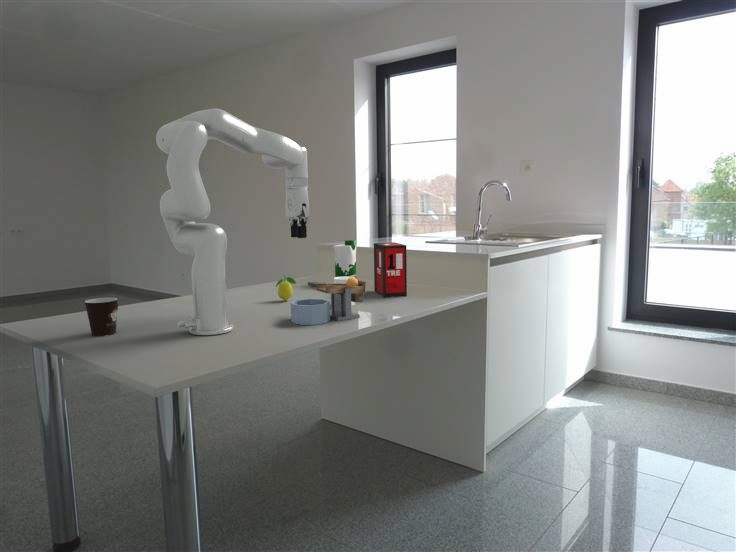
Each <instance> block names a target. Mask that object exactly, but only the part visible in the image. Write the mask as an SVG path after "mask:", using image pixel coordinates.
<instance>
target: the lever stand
mask: <svg viewBox="0 0 736 552" xmlns="http://www.w3.org/2000/svg"><path fill="white" fill-rule="evenodd" d="M330 305H331V306H330V320H334V321H338V322H339V321H340V322H341V321H345V320H346V321H347V320H353V319H354V320H355V319H359V318H360V314H359V313H355V312H352V306H351V288H344V293H330Z"/></svg>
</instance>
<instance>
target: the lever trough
mask: <svg viewBox="0 0 736 552" xmlns="http://www.w3.org/2000/svg"><path fill="white" fill-rule="evenodd" d="M357 280H358V286H347V285H346V284H339V283H334V282H333V283H331V282H329V283H328V282H327V283H324V282H323V283H322V282H317V281H308V282H307V286H308V287H313V288H315V291H317V292H321V293H323V294H331V293H344V288H351V301H352V302H355V303H364V296H365V295H364V294H366V286H367V285H366V284H367V281H365V280H360V279H357Z"/></svg>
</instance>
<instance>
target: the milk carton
mask: <svg viewBox="0 0 736 552" xmlns="http://www.w3.org/2000/svg"><path fill="white" fill-rule="evenodd" d="M333 250H334V269H335V270H334V274H335V277H343V276H350V277H355V278H356V279H357V256H356V255H357V244H355V241H354V240H353V239H350V240H349V239H346V240H344V244H337V245H333ZM335 277H334V278H335Z"/></svg>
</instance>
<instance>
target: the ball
mask: <svg viewBox="0 0 736 552" xmlns="http://www.w3.org/2000/svg"><path fill="white" fill-rule="evenodd" d="M358 280H359V279H357V277H356V278H354V277H351V278H349V279H348V280H347V281H346V285H347V286H358Z"/></svg>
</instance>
